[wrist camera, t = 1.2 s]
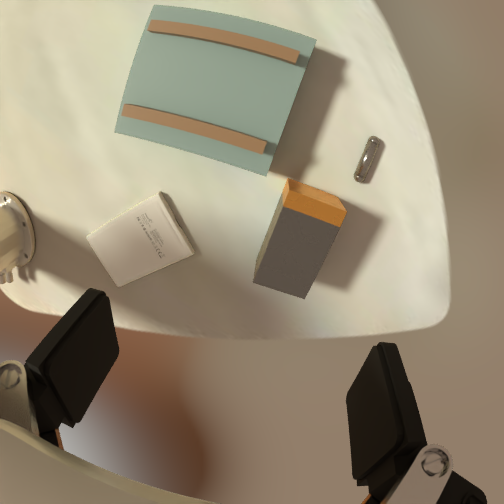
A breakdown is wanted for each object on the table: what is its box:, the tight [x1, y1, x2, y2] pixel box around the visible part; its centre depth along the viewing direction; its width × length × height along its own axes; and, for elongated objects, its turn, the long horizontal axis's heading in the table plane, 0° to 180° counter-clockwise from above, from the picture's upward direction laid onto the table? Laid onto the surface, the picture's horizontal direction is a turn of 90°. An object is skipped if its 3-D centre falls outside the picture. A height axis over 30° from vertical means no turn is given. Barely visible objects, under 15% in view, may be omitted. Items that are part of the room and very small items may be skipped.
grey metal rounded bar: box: [354, 136, 379, 182], centre depth 28 cm, size 5×1×1 cm, turn 161°
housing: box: [253, 178, 347, 299], centre depth 30 cm, size 10×6×5 cm, turn 161°
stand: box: [115, 5, 316, 176], centre depth 24 cm, size 14×16×4 cm
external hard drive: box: [86, 191, 195, 287], centre depth 35 cm, size 2×8×12 cm
